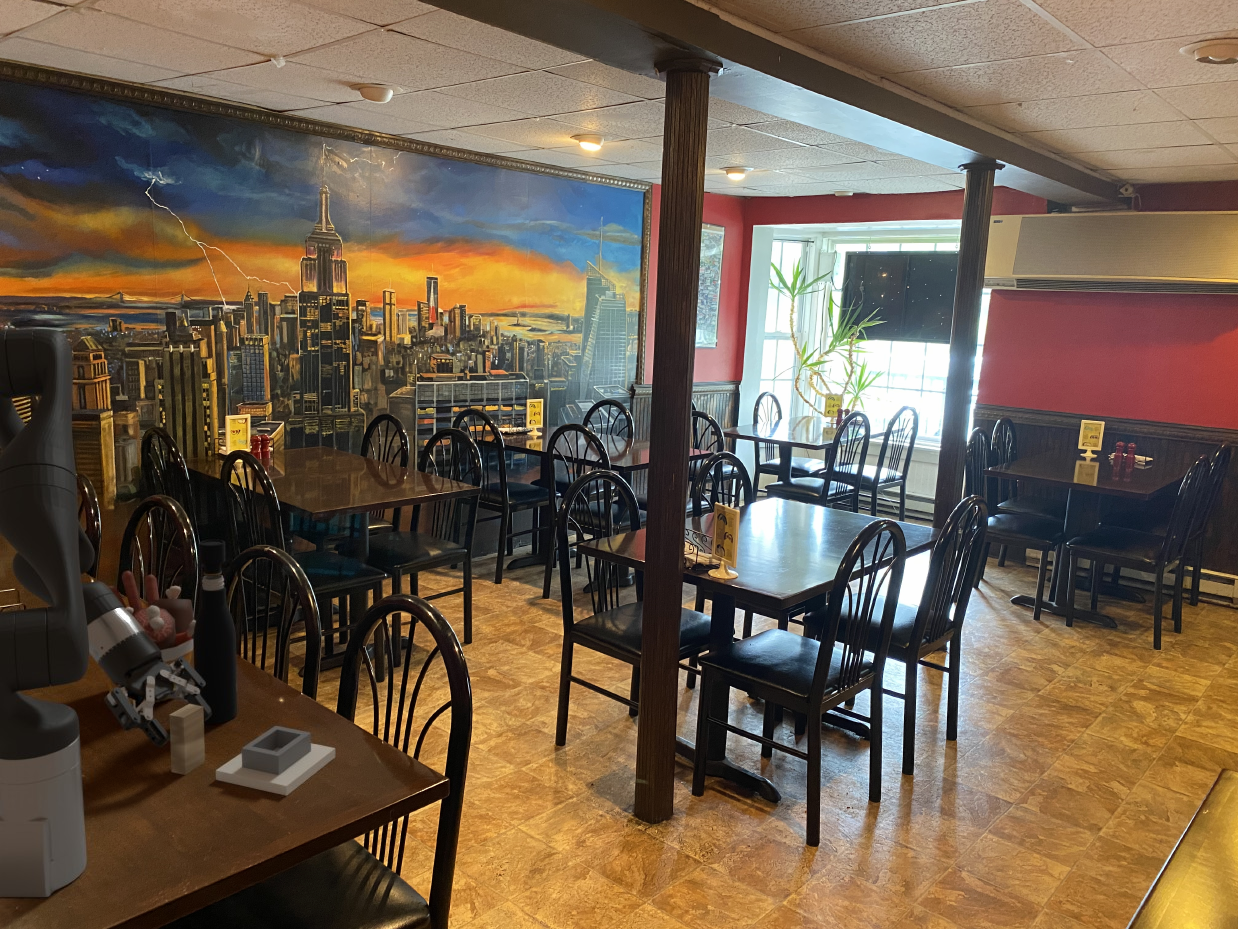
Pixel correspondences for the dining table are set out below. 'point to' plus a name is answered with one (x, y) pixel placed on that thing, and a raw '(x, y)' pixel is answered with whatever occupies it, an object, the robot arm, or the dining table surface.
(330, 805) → the dining table surface
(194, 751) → the slat
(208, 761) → the dining table surface
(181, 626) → the bucket of meat
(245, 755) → the socket base
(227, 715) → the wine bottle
